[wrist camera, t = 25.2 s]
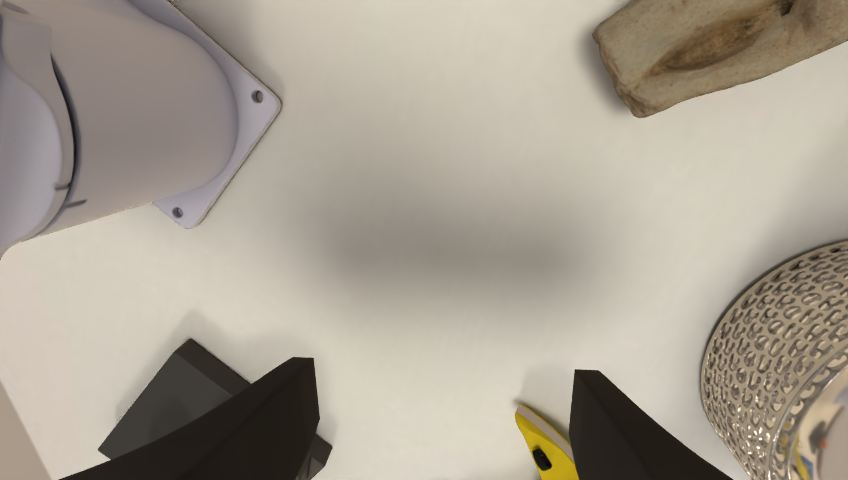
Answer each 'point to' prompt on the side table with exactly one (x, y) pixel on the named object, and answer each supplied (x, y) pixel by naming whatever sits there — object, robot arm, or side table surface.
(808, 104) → the side table surface
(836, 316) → the silver candle holder
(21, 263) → the side table surface
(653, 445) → the robot arm
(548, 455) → the yellow curved piece
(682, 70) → the sculpture
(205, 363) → the push button box
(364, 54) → the side table surface
